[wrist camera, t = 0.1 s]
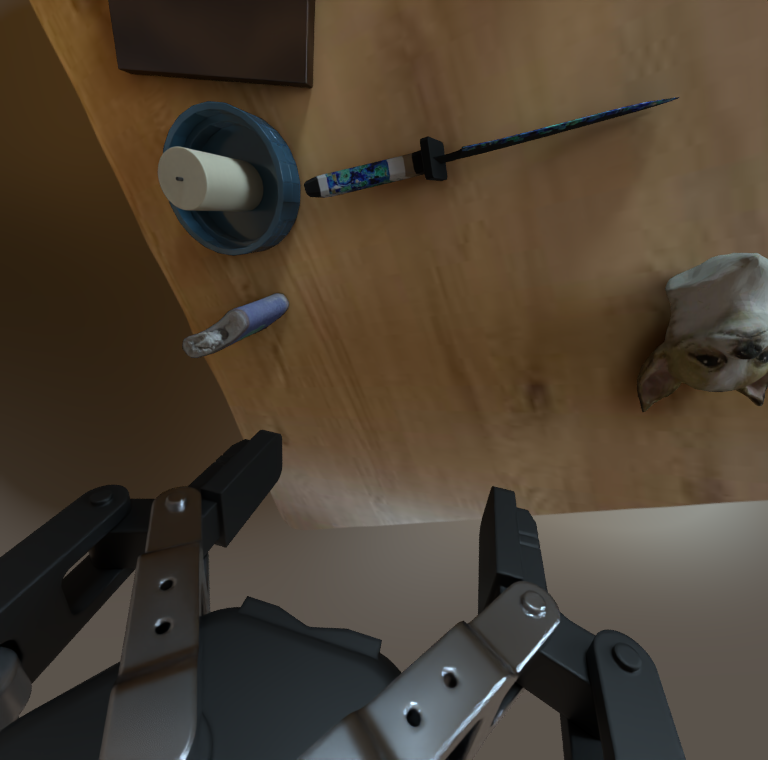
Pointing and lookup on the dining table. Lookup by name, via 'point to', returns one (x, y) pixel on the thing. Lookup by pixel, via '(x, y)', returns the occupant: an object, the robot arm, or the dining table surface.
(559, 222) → the dining table surface
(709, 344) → the ceramic sculpture
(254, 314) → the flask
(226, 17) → the cutting board
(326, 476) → the dining table surface
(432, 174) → the knife
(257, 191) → the candle
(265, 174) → the bowl
